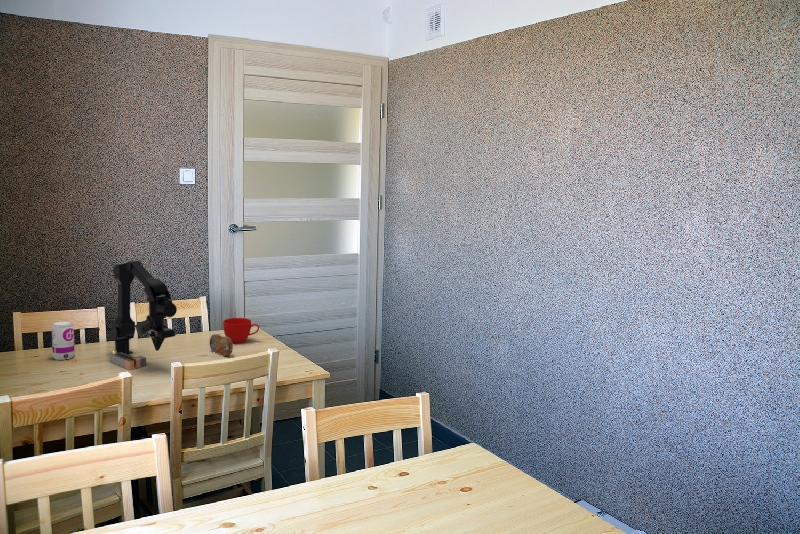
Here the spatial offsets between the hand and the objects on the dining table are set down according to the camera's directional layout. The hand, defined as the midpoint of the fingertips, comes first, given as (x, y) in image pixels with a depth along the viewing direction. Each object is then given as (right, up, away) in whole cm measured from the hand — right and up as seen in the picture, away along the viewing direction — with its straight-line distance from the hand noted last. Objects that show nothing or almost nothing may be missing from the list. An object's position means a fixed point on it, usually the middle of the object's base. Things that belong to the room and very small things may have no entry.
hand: (157, 350), depth 276 cm
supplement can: (-42, -4, +8) cm, 43 cm away
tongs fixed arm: (-15, -6, +2) cm, 16 cm away
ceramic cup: (+24, -1, +44) cm, 50 cm away
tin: (+20, -5, +23) cm, 31 cm away
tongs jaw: (-13, -6, +2) cm, 14 cm away
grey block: (-8, -6, +2) cm, 10 cm away
